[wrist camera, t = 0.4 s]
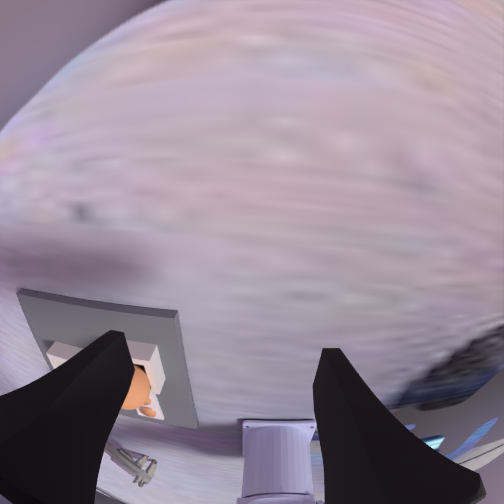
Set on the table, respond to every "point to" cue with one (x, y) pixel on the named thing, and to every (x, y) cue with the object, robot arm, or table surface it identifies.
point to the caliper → (132, 464)
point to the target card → (151, 408)
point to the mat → (135, 329)
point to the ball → (137, 390)
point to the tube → (148, 363)
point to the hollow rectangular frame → (61, 353)
